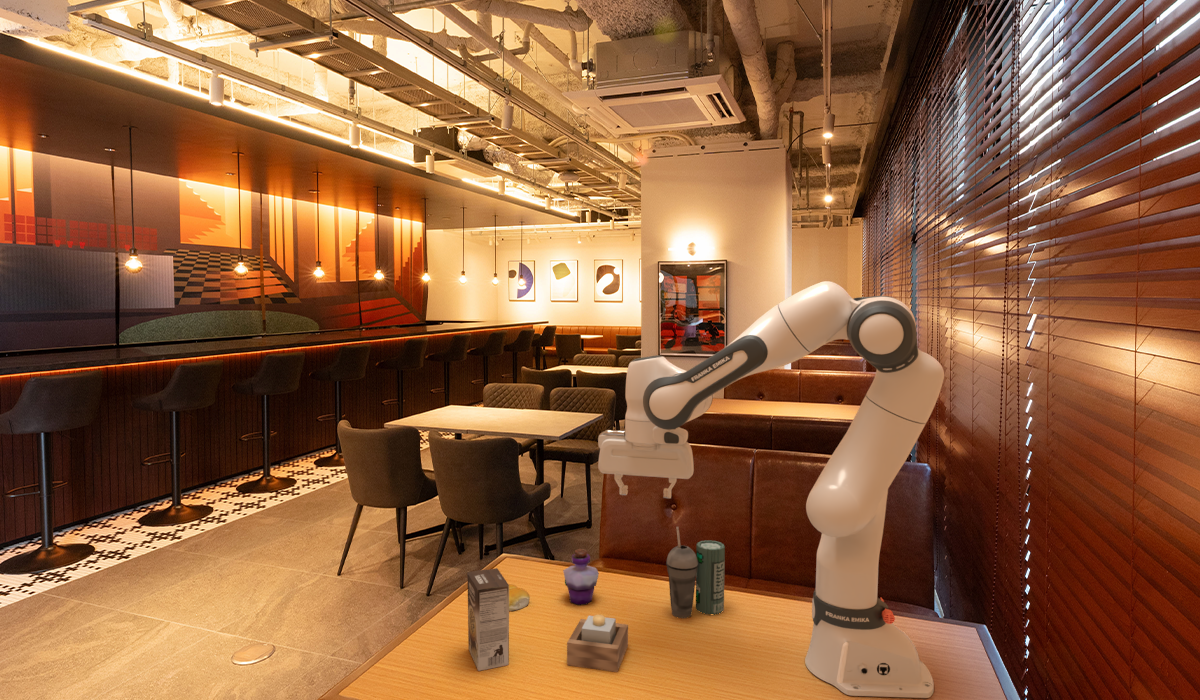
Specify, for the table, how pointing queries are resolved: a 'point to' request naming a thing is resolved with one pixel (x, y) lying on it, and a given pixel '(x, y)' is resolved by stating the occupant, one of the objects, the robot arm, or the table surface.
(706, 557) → the can
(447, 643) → the table surface
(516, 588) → the bread roll
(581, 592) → the potion bottle
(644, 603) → the table surface
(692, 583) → the beverage cup
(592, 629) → the lid
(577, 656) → the box
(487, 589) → the coffee box
